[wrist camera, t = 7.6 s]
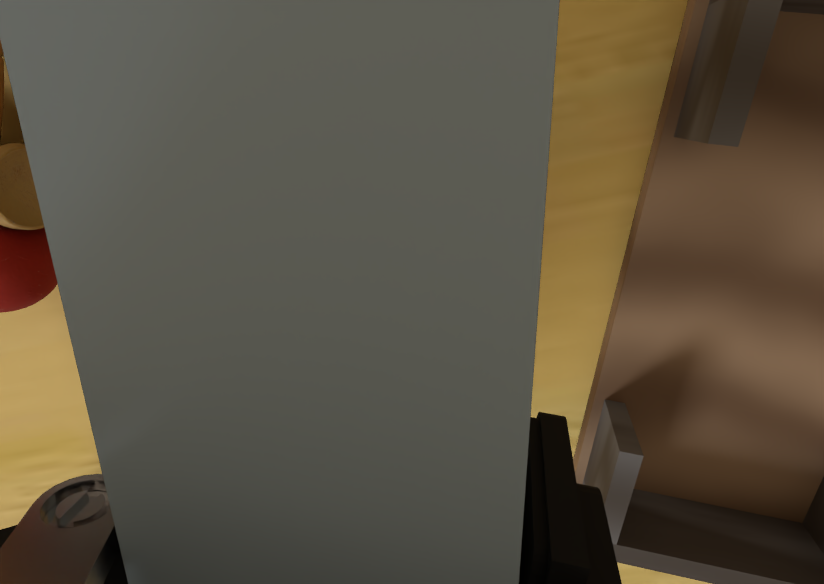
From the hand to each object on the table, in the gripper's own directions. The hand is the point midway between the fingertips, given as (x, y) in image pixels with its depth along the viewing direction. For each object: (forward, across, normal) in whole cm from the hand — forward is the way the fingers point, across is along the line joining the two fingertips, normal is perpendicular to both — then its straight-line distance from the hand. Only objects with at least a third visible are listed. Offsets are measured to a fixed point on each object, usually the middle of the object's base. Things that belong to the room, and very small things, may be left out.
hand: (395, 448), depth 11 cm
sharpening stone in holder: (+17, -14, 0) cm, 22 cm away
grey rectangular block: (+1, 0, 0) cm, 1 cm away
